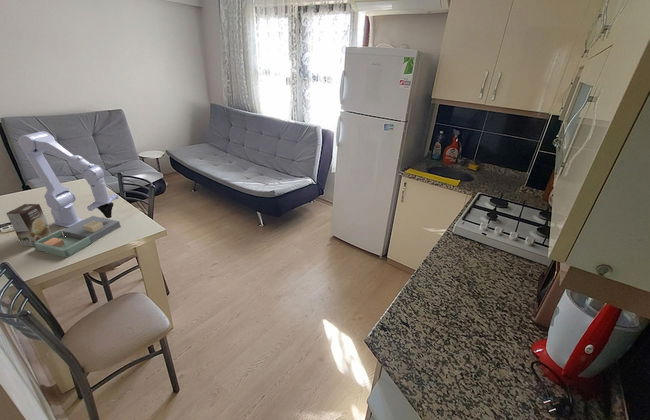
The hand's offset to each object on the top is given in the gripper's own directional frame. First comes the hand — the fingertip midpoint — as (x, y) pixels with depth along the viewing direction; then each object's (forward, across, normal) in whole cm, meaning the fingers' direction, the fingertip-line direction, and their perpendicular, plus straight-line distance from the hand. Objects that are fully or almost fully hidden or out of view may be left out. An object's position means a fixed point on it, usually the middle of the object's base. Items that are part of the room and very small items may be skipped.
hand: (108, 217), depth 142 cm
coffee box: (+5, -20, +19) cm, 28 cm away
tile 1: (+2, -22, +7) cm, 23 cm away
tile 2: (+2, -8, 0) cm, 8 cm away
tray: (+5, -20, +4) cm, 21 cm away
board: (+5, -6, +4) cm, 9 cm away
